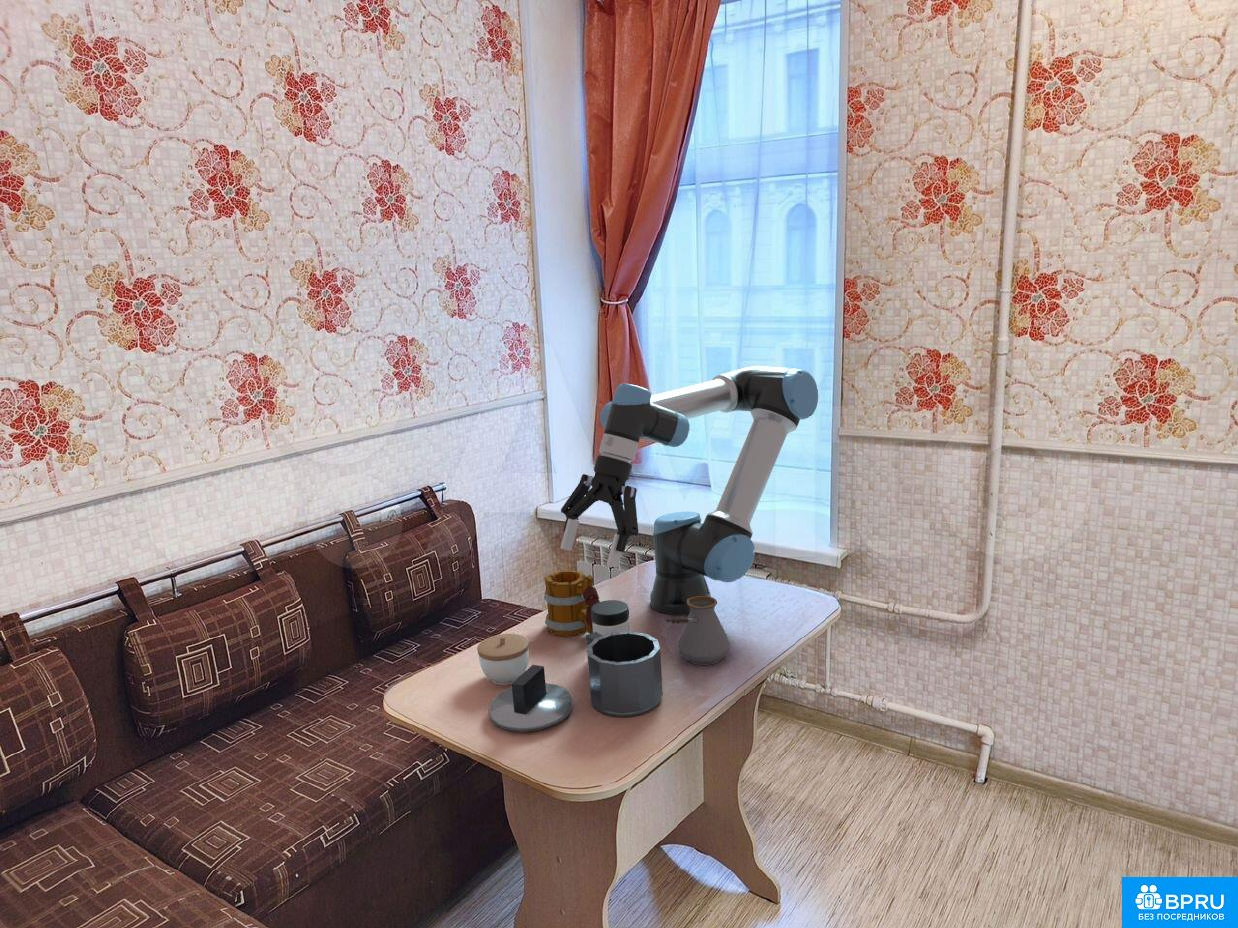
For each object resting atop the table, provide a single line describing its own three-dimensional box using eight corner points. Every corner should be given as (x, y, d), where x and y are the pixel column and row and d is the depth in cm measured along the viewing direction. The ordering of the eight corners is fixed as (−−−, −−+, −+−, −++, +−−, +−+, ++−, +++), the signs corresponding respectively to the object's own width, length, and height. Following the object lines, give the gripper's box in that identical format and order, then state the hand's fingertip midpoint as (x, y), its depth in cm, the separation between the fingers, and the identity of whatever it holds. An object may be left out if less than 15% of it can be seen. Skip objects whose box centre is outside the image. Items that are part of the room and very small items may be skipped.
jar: (605, 671, 175) (602, 618, 172) (586, 657, 182) (582, 607, 179) (640, 658, 180) (637, 607, 177) (619, 645, 187) (616, 596, 184)
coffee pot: (692, 641, 187) (690, 578, 183) (739, 651, 181) (737, 586, 177) (644, 683, 169) (640, 615, 166) (694, 695, 163) (691, 625, 160)
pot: (621, 666, 177) (618, 619, 174) (676, 699, 162) (673, 648, 159) (565, 688, 169) (561, 639, 166) (618, 725, 154) (614, 671, 152)
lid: (517, 687, 171) (514, 651, 169) (586, 699, 164) (583, 662, 162) (473, 727, 157) (469, 688, 155) (547, 742, 150) (543, 701, 148)
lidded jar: (540, 668, 178) (536, 628, 176) (518, 693, 168) (514, 650, 166) (495, 663, 182) (491, 624, 180) (471, 687, 172) (466, 646, 170)
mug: (569, 613, 206) (564, 556, 202) (617, 630, 195) (612, 570, 191) (536, 628, 198) (531, 570, 195) (583, 647, 187) (579, 585, 184)
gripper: (562, 444, 176) (535, 540, 176) (649, 465, 160) (620, 571, 159) (585, 451, 182) (559, 545, 181) (672, 472, 165) (644, 575, 165)
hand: (588, 557), depth 170 cm, fingers open, 13 cm apart
